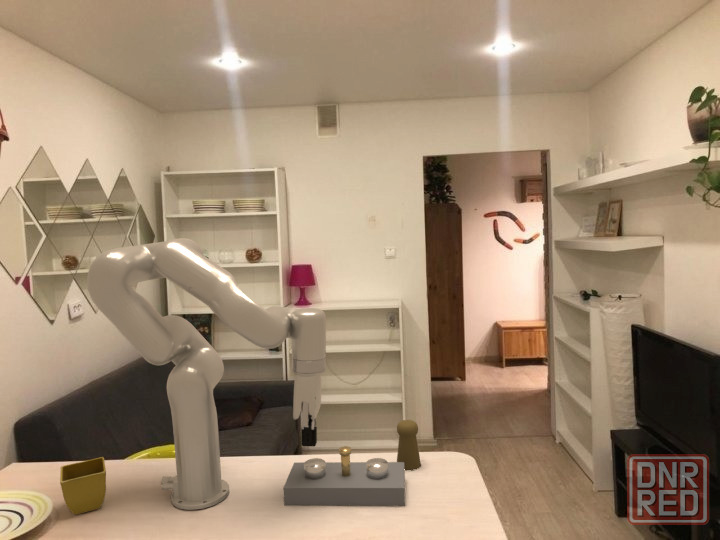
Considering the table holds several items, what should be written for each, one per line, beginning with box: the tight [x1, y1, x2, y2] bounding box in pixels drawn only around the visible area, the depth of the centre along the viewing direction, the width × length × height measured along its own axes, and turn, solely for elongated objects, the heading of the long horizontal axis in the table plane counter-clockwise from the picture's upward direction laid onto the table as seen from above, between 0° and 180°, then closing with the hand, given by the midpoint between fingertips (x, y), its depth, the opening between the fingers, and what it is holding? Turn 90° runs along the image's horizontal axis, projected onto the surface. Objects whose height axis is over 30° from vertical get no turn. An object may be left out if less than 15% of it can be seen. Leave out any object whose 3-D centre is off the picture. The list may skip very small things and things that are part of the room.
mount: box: [283, 461, 406, 507], centre depth 123 cm, size 26×12×4 cm, turn 86°
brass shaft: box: [338, 445, 352, 477], centre depth 122 cm, size 3×3×6 cm
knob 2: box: [366, 457, 389, 479], centre depth 122 cm, size 5×5×6 cm
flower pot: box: [59, 456, 107, 516], centre depth 120 cm, size 9×9×9 cm
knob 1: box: [304, 457, 326, 479], centre depth 123 cm, size 5×5×6 cm
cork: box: [396, 419, 422, 471], centre depth 134 cm, size 6×6×11 cm
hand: (309, 444), depth 122 cm, fingers closed
